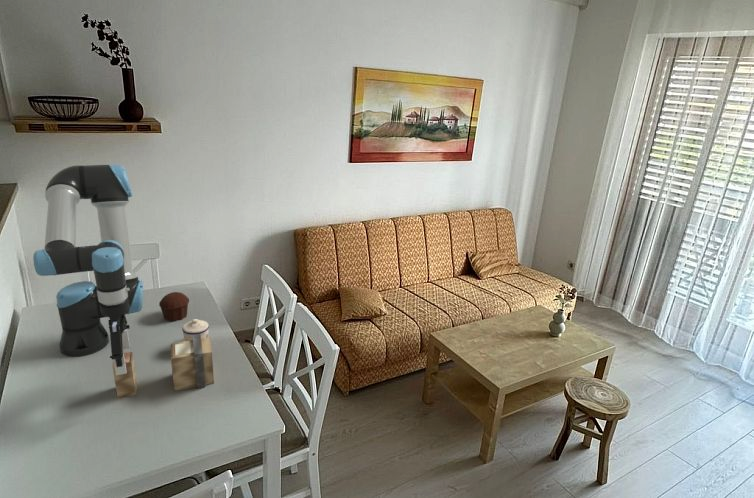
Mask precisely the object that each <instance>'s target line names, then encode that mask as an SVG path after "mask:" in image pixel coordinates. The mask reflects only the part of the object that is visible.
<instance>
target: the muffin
mask: <svg viewBox="0 0 754 498" xmlns="http://www.w3.org/2000/svg"><path fill="white" fill-rule="evenodd" d="M189 303H190V299H189V297H188V296H187V295H185V293H184V292H183V293H182V292H178V291H173V292H169V293H167V294H166V295H164V296H163V297H162V298H161V300H160V301H159V305H158V306H159V307H160V309H161V313H162V317H163V319H164V320H165V321H167V322H177V321H182V320H183V319H186V318H187V315H188V309H189V308H188V307H189V306H188V305H189Z"/></svg>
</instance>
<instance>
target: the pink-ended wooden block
mask: <svg viewBox="0 0 754 498" xmlns="http://www.w3.org/2000/svg"><path fill="white" fill-rule="evenodd" d="M123 354H124V358H125V364H126V371H127V373H126V374H121V375H116V372H115V365H114V359H113V360H112V370H113V371H112V372H113V373H112V374H113V377H114V378H113V380H114V383H115V389H116V391H115V392H116V396H117V397H116V398H117V399H120V398H121V399H122V398H126V397H131V396H136V395H137V388H138V386H137V385H138V381H137V375H136V374H137V373H136V367H135V361H134V360H135V359H134V353H133V351H128V352H123Z"/></svg>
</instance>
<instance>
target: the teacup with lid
mask: <svg viewBox="0 0 754 498" xmlns="http://www.w3.org/2000/svg"><path fill="white" fill-rule="evenodd" d="M181 328H182V329H181V330H182V334H183V342H184V341H191V340H193V335H198V334H200V336H201V339H205V338H210V329H209V328H210V324H209V322H207V321H206V320H202V319H198V318H194V319H192V320H191V321H188V322H186V323H184V324H183V326H182V327H181Z"/></svg>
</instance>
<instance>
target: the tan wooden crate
mask: <svg viewBox="0 0 754 498" xmlns="http://www.w3.org/2000/svg"><path fill="white" fill-rule="evenodd" d="M212 350H213V349H212V344H211V338H210V337H209V338H205V339H201V336H200V334H198V335H193V340H191V341H184V340H183V341H178V342H172V343H170V362H171V369H172V370H171V372H172V380H173V391H180V390H184V389H190V388H197V389H203V388H206V385H212V384H215V380H214V379H215V378H214V366H213V365H214V364H213V363H214V362H213V351H212Z"/></svg>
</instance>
